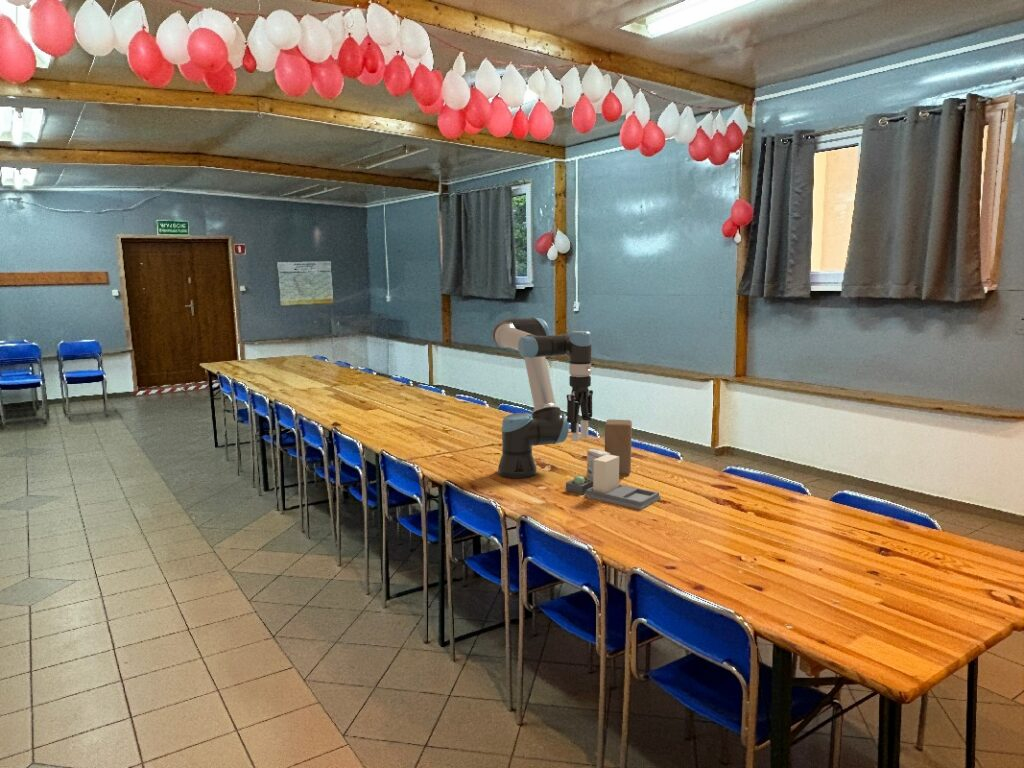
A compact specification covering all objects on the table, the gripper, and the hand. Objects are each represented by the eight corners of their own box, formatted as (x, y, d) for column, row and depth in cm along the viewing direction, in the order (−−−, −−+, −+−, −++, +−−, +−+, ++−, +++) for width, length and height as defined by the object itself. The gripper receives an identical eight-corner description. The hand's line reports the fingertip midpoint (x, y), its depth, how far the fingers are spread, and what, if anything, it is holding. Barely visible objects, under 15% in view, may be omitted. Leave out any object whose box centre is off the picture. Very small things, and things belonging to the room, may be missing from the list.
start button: (572, 488, 243) (572, 477, 242) (577, 485, 246) (577, 475, 245) (580, 490, 241) (580, 479, 240) (586, 487, 243) (586, 477, 243)
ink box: (610, 483, 251) (611, 452, 249) (600, 485, 248) (600, 454, 246) (596, 477, 258) (597, 447, 256) (586, 479, 256) (586, 449, 254)
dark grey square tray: (565, 490, 243) (565, 482, 242) (576, 485, 248) (576, 478, 248) (582, 494, 238) (582, 486, 238) (592, 489, 244) (592, 481, 243)
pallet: (584, 496, 236) (584, 490, 236) (605, 486, 247) (605, 480, 246) (640, 509, 222) (641, 502, 222) (660, 498, 233) (660, 492, 233)
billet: (593, 492, 236) (593, 459, 234) (606, 486, 243) (607, 454, 241) (605, 495, 233) (606, 462, 231) (618, 489, 240) (619, 456, 238)
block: (630, 475, 260) (631, 425, 257) (604, 474, 262) (604, 424, 259) (630, 468, 270) (631, 419, 267) (605, 467, 272) (606, 418, 269)
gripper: (574, 379, 227) (574, 446, 231) (603, 373, 241) (602, 436, 245) (556, 377, 232) (556, 443, 235) (585, 371, 246) (584, 433, 250)
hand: (579, 439), depth 240 cm, fingers open, 5 cm apart
